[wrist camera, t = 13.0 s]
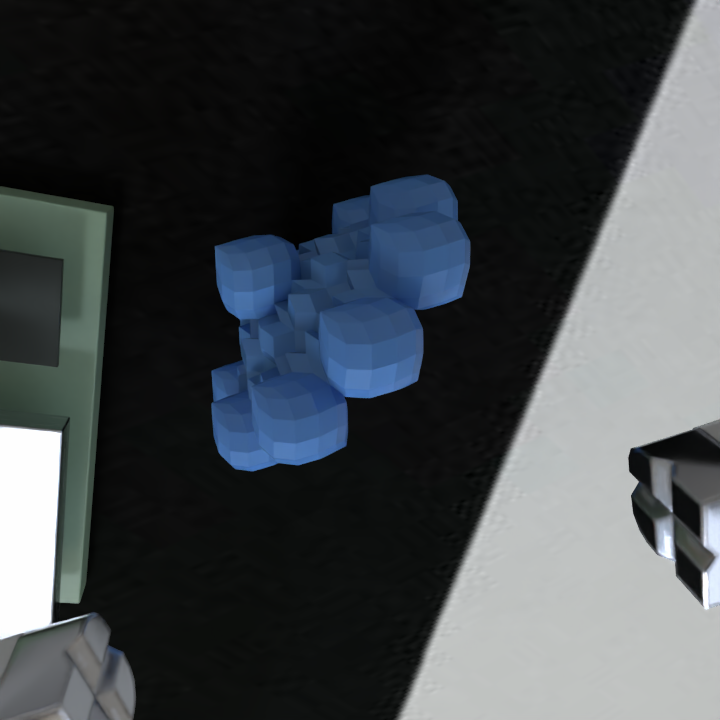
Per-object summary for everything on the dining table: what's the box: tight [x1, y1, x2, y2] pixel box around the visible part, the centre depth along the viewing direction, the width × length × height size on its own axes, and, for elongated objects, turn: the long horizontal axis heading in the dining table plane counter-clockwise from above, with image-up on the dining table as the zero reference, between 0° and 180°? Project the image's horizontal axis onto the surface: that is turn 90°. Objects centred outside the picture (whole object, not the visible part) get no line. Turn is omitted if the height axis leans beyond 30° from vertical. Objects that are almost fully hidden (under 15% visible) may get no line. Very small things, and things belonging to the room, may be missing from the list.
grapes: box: [212, 175, 470, 471], centre depth 21 cm, size 12×7×12 cm, turn 141°
